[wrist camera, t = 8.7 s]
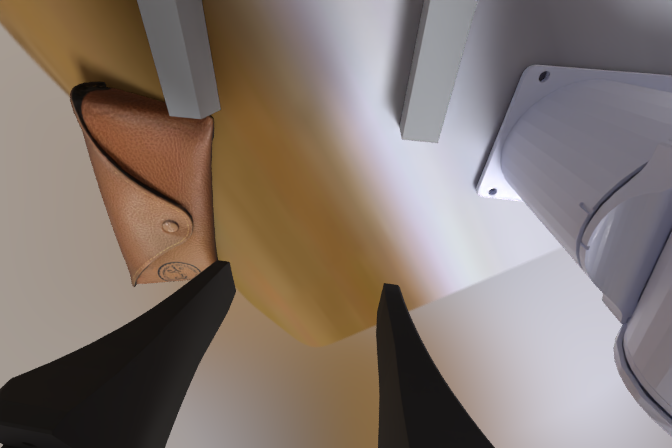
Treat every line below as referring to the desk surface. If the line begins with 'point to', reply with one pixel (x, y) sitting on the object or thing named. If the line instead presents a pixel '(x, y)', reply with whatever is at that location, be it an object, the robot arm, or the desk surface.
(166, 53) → the bay
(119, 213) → the sunglasses case
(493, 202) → the desk surface
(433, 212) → the desk surface
